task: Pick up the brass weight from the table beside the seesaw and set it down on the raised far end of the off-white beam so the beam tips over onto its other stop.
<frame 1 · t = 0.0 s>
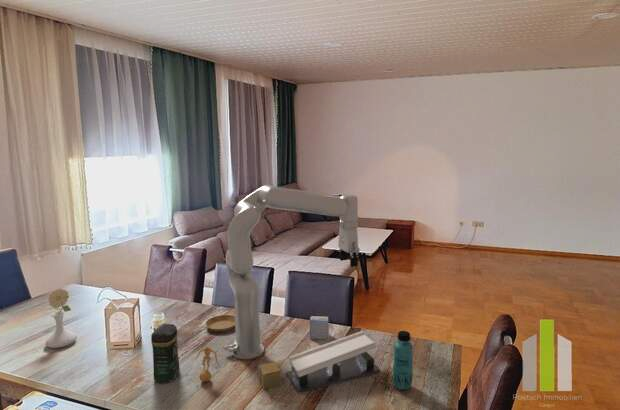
hand: (348, 263, 173), 31 cm above the table, tool pointing down, fingers open, 9 cm apart
beverage bottle: (402, 388, 136), on the table
coffee jar: (167, 376, 145), on the table
brass weight: (269, 383, 140), on the table
beam: (332, 352, 144), point 8 cm above the table, hinge at -8.0°
plant saucer: (222, 327, 184), on the table
figurine: (207, 380, 143), on the table
seesaw stand: (333, 373, 145), on the table
flower in vase: (63, 344, 169), on the table
medicine box: (319, 337, 172), on the table
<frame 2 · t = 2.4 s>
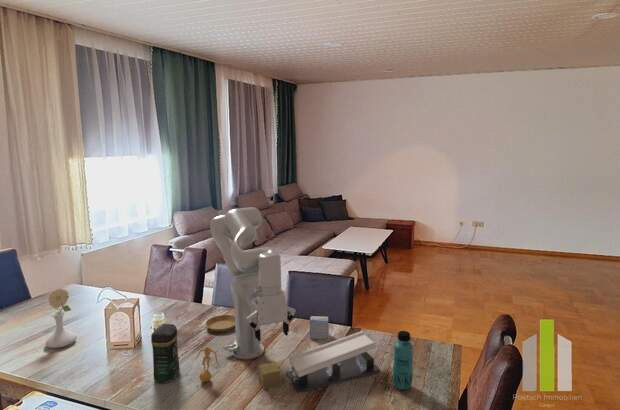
hand: (272, 336, 138), 17 cm above the table, tool pointing down, fingers open, 9 cm apart
nothing on the table moved.
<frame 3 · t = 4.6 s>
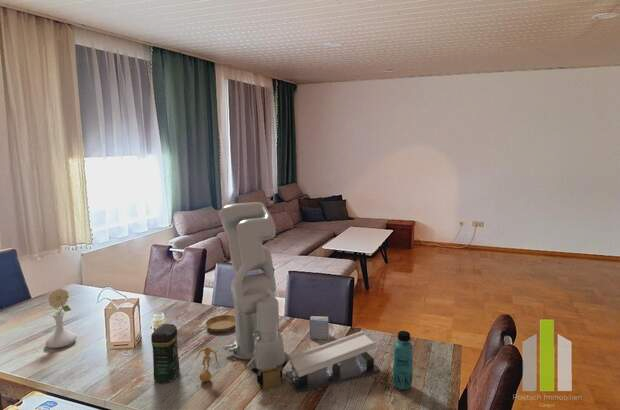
hand: (269, 381, 140), 1 cm above the table, tool pointing down, fingers closed on brass weight, 6 cm apart
brass weight: (269, 383, 140), on the table, touching gripper
everything else where it was.
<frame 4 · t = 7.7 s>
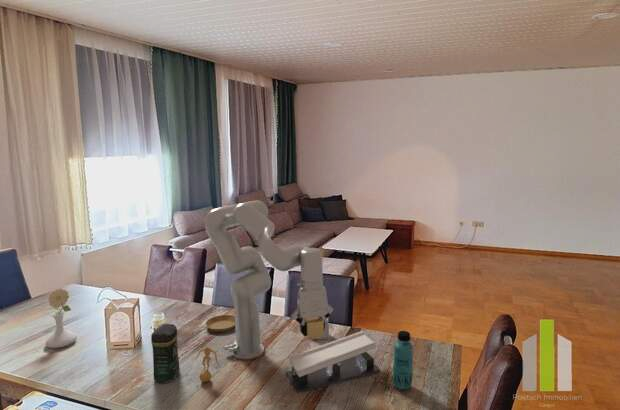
hand: (312, 332, 142), 17 cm above the table, tool pointing down, fingers closed on brass weight, 6 cm apart
brass weight: (312, 334, 142), point 16 cm above the table, touching gripper
everything else where it was.
when the fingers open (12 cm above the table, at t = 10.6 s): brass weight drops 1 cm, resting on beam.
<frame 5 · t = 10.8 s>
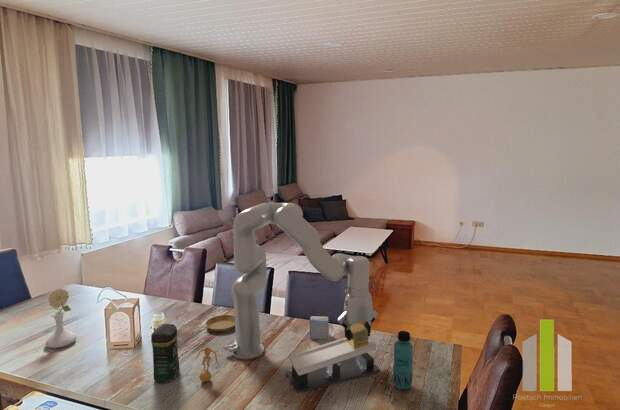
hand: (357, 336, 147), 12 cm above the table, tool pointing down, fingers open, 7 cm apart
brass weight: (357, 342, 148), point 10 cm above the table, tilted 5°, touching beam, gripper
beam: (332, 352, 144), point 8 cm above the table, hinge at -6.0°, touching brass weight
everything else where it was.
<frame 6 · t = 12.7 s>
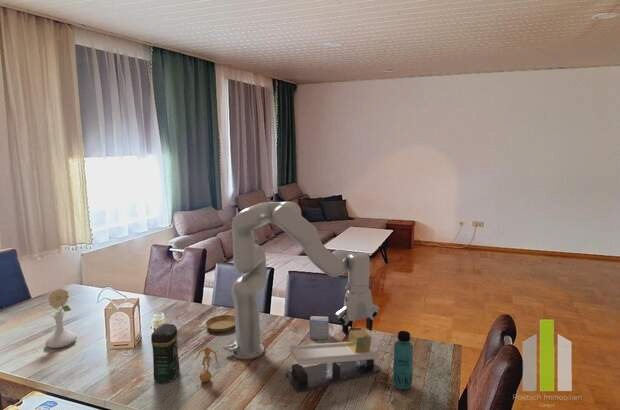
hand: (357, 331, 147), 14 cm above the table, tool pointing down, fingers open, 9 cm apart
brass weight: (358, 349, 148), point 7 cm above the table, tilted 8°, touching beam
beam: (333, 352, 144), point 8 cm above the table, hinge at 8.2°, touching brass weight
everything else where it was.
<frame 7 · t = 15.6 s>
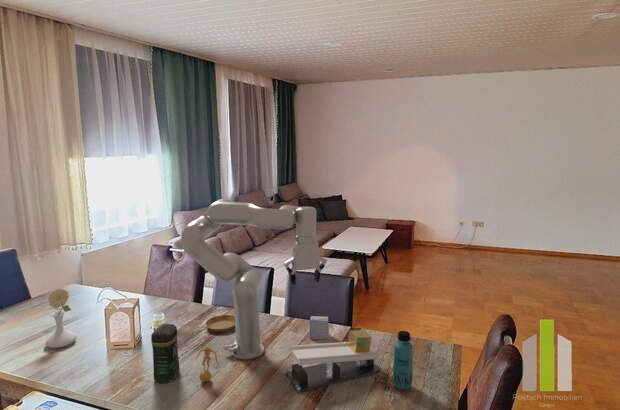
hand: (305, 282, 155), 29 cm above the table, tool pointing down, fingers open, 9 cm apart
nothing on the table moved.
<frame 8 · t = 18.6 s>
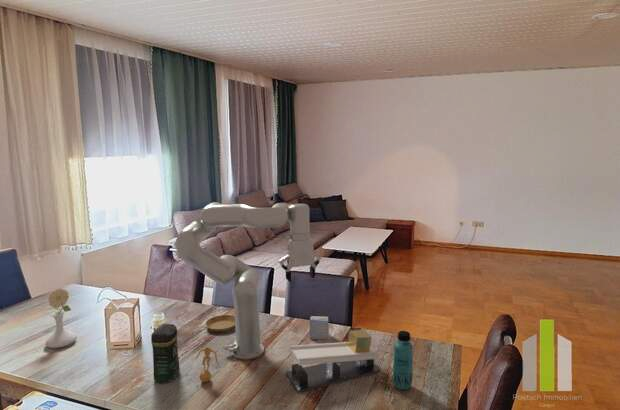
hand: (300, 278, 156), 30 cm above the table, tool pointing down, fingers open, 9 cm apart
nothing on the table moved.
at the end: beam at +8° (first picture: -8°); brass weight touching beam; the gripper is holding nothing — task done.
